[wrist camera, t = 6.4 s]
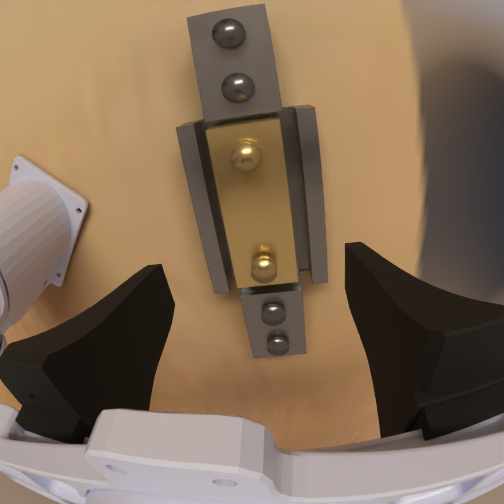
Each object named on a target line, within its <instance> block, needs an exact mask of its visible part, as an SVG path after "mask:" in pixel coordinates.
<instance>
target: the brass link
mask: <svg viewBox="0 0 504 504" xmlns="http://www.w3.org/2000/svg"><path fill="white" fill-rule="evenodd" d="M206 135H207V141H208V146H209V151H210V156H211V161H212V167H213V172H214V177H215V182H216V187H217V192H218V197H219V202H220V207H221V212H222V217H223V222H224V227H225V231H226V236H227V241H228V246H229V251H230V255H231V260H232V265H233V270H234V274H235V279H236V284H237V288H244V287H254V286H264V285H274V284H283V283H293V282H298V277H297V266H296V255H295V245H294V235H293V226H292V216H291V207H290V198H289V190H288V181H287V173H286V165H285V157H284V150H283V142H282V135H281V127H280V120H279V118H278V115H277V114H270V115H262V116H255V117H248V118H241V119H235V120H229V121H223V122H218V123H216V124H215V125H213V126H212V127H210V128H209V129H207V130H206Z"/></svg>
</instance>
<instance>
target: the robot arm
mask: <svg viewBox="0 0 504 504" xmlns="http://www.w3.org/2000/svg"><path fill="white" fill-rule="evenodd" d="M17 166H18V168H17ZM78 208H80V209H81V211H82V212H80V211H79V209H78ZM87 209H88V202H87V200H86V199H85V198H83V197H82V196H80V195H79V194H77V193H76V192H74V191H72V190H71V189H69V188H68V187H66V186H65V185H63V184H62V183H60V182H59V181H57V180H56V179H54V178H53V177H51V176H50V175H49V174H47V173H46V172H44V171H43V170H41V169H40V168H38V167H37V166H35V165H34V164H32V163H31V162H29V161H28V160H27V159H25V158H24V157H22V156H17V157H16V158H15V159H14V163H13V167H12V171H11V175H10V180H9V184H8V187H6V188H4V189H2V190H1V191H0V379H1V381H2V382H3V383H4V385H5V386H6V387H7V388H8V390H9V391H10V392H11V393H12V394H13V395H14V397H15V398H16V399H17V400H18V401H19V402H20V403H21V405H23V406H22V408H21V410H20V412H19V411H18V410H17V409H15V408H13V407H11V406H8V405H5V404H2V403H0V471H1V472H3V473H4V474H5V475H7V476H8V477H9V478H11V479H12V480H14V481H15V482H17V483H19V484H21V485H23V486H25V487H27V488H29V489H31V490H33V491H35V492H37V493H39V494H41V495H43V496H45V497H48V498H50V499H52V500H54V501H56V502H59V503H61V504H463V503H465V502H467V501H469V500H472V499H474V498H476V497H478V496H480V495H482V494H484V493H486V492H488V491H490V490H492V489H494V488H496V487H498V486H500V485H501V484H503V483H504V306H503V305H500V304H494V303H488V302H483V301H478V300H474V299H470V298H467V297H463V296H459V295H456V294H453V293H450V292H448V291H445V290H442V289H439V288H437V287H435V286H432V285H430V284H428V283H426V282H424V281H422V280H420V279H418V278H416V277H414V276H412V275H410V274H409V273H407V272H405V271H404V270H402V269H400V268H399V267H397V266H395V265H394V264H392V263H391V262H389V261H388V260H386V259H385V258H383V257H382V256H381V255H379V254H378V253H376V252H375V251H374V250H372V249H371V248H369V247H368V246H366V245H365V244H363V243H362V242H353V243H345V290H346V295H347V299H348V303H349V308H350V311H351V314H352V316H353V319H354V322H355V324H356V327H357V330H358V333H359V335H360V338H361V341H362V344H363V346H364V349H365V352H366V355H367V359H368V362H369V367H370V371H371V376H372V381H373V387H374V392H375V398H376V404H377V411H378V418H379V425H380V435H381V438H380V439H375V440H370V441H365V442H359V443H353V444H347V445H340V446H333V447H325V448H316V449H307V450H288V449H277V448H276V445H275V441H274V437H273V435H272V434H271V433H270V432H269V431H268V430H267V429H266V427H265V426H264V425H262V424H261V423H258V422H256V421H253V420H250V419H248V418H245V417H243V416H237V415H228V414H219V413H177V412H159V411H149V406H150V399H151V393H152V387H153V382H154V377H155V373H156V370H157V366H158V363H159V360H160V357H161V354H162V351H163V348H164V346H165V343H166V340H167V337H168V334H169V331H170V328H171V324H172V319H173V314H174V308H175V303H174V300H173V297H172V294H171V291H170V288H169V285H168V282H167V279H166V276H165V273H164V270H163V267H162V264H156V265H148V266H146V267H144V268H143V269H141V270H140V271H138V272H137V273H136V274H134V275H133V276H132V277H130V278H129V279H128V280H126V281H125V282H124V283H123V284H121V285H120V286H119V287H118V288H116V289H115V290H114V291H112V292H111V293H110V294H108V295H107V296H106V297H104V298H103V299H102V300H100V301H99V302H97V303H96V304H95V305H93V306H92V307H90V308H89V309H87V310H85V311H84V312H82V313H81V314H79V315H77V316H76V317H74V318H72V319H70V320H68V321H66V322H64V323H62V324H60V325H58V326H56V327H54V328H52V329H50V330H48V331H45V332H43V333H40V334H38V335H35V336H32V337H29V338H26V339H23V340H20V341H17V342H13V343H10V344H9V345H8V346H7V341H6V339H5V337H4V335H3V334H4V333H5V331H6V330H7V329H8V328H9V327H11V326H13V325H14V324H16V323H17V322H18V321H19V320H20V319H21V318H22V317H23V315H24V314H25V313H26V312H27V310H28V309H29V308H30V307H31V305H32V304H33V303H34V302H35V301H36V299H37V298H38V297H39V296H40V295H41V293H42V292H43V291H44V290H45V289H46V288H47V286H48V285H49V284H50V283H52V284H54V285H55V286H57V287H60V286H61V285H62V284H63V281H64V277H65V274H66V271H67V267H68V264H69V261H70V258H71V254H72V251H73V248H74V245H75V242H76V239H77V236H78V233H79V231H80V228H81V225H82V222H83V220H84V217H85V214H86V212H87ZM59 273H60V274H59Z"/></svg>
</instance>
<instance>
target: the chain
mask: <svg viewBox="0 0 504 504" xmlns="http://www.w3.org/2000/svg"><path fill="white" fill-rule="evenodd" d="M187 23H188V29H189V35H190V41H191V46H192V52H193V58H194V64H195V69H196V75H197V81H198V86H199V92H200V97H201V103H202V108H203V114H204V119H203V120H198V121H193V122H188V123H185V124H183V125H181V126H178V127H176V131H177V136H178V140H179V145H180V150H181V155H182V159H183V164H184V168H185V173H186V177H187V182H188V186H189V191H190V195H191V200H192V204H193V208H194V212H195V217H196V221H197V225H198V229H199V233H200V237H201V241H202V246H203V250H204V254H205V257H206V261H207V265H208V269H209V273H210V277H211V281H212V285H213V289H214V292H215V294H221V293H230V287H231V281H232V276H235V274H234V270H233V265H232V260H231V255H230V251H229V246H228V241H227V236H226V231H225V227H224V222H223V217H222V212H221V207H220V202H219V197H218V192H217V187H216V182H215V177H214V172H213V167H212V161H211V156H210V151H209V146H208V141H207V135H206V130H207V129H209V128H210V127H212V126H213V125H215V124H216V123H218V122H223V121H229V120H235V119H241V118H248V117H255V116H262V115H270V114H277V115H278V118H279V120H280V127H281V135H282V142H283V150H284V157H285V165H286V173H287V181H288V190H289V198H290V207H291V216H292V226H293V235H294V245H295V255H296V266H297V277H298V282H293V283H283V284H274V285H264V286H254V287H244V288H241V293H240V298H241V303H242V307H243V312H244V317H245V321H246V326H247V330H248V335H249V339H250V344H251V348H252V353H253V357H254V358H261V357H274V356H285V355H296V354H305V353H306V341H305V325H304V311H303V297H302V287H301V280H300V273H299V269H306V268H309V269H310V273H311V278H312V283H313V284H319V283H327V282H328V274H327V247H326V227H325V211H324V196H323V183H322V171H321V159H320V149H319V139H318V130H317V121H316V112H315V107H313V106H310V105H302V106H292V107H283V108H282V105H281V98H280V92H279V85H278V78H277V72H276V66H275V59H274V53H273V47H272V42H271V36H270V30H269V24H268V19H267V13H266V8H265V4H258V5H250V6H243V7H237V8H231V9H225V10H220V11H215V12H210V13H205V14H200V15H196V16H191V17H187Z"/></svg>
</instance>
